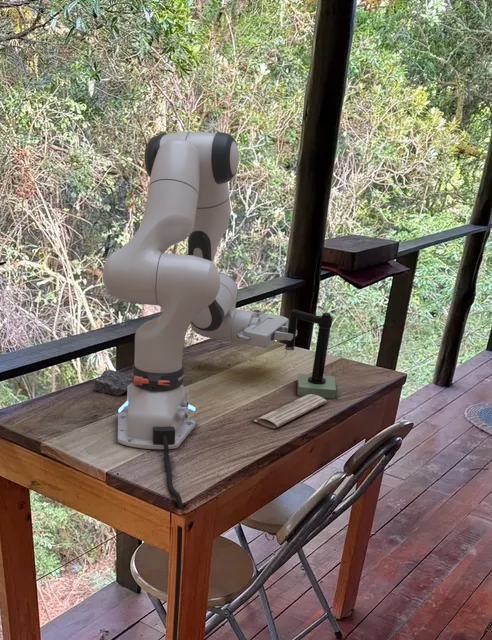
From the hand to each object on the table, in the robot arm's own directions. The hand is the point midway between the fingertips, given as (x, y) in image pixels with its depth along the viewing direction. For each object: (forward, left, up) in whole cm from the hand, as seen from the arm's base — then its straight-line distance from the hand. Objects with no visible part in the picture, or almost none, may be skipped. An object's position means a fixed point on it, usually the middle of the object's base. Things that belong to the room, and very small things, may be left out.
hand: (294, 335), depth 203 cm
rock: (-19, +46, -13) cm, 51 cm away
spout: (-3, -3, -4) cm, 6 cm away
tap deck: (-5, -7, -13) cm, 16 cm away
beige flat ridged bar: (-24, -1, -13) cm, 27 cm away
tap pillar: (-5, -7, -11) cm, 14 cm away
